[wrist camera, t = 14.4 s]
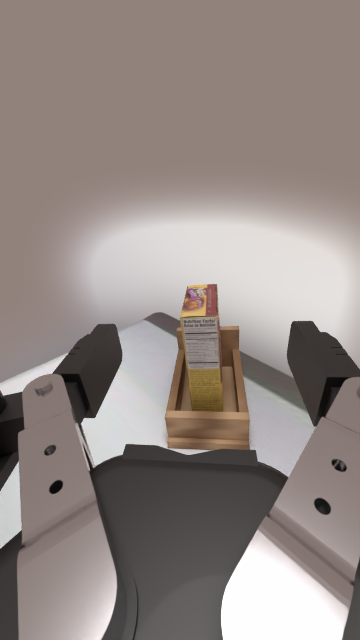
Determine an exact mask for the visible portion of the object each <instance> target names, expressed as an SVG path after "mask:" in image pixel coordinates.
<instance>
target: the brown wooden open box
mask: <svg viewBox="0 0 360 640" xmlns="http://www.w3.org/2000/svg"><path fill="white" fill-rule="evenodd" d="M177 340H178V348H179V350H178V355H177V360H176V365H175V370H174V375H173V380H172V385H171V390H170V395H169V400H168V405H167V410H166V414H165V421H166V427H167V432H168V440H167V443H168V448H183V449H205V450H218V449H240V450H249V446H250V444H249V421H250V419H249V413H248V406H247V400H246V393H245V386H244V380H243V373H242V366H241V360H240V353H239V326H229V327H220V342H221V360H222V382H223V412H206V411H192V405H191V398H190V391H189V383H188V375H187V367H186V360H185V352H184V344H183V336H182V329H181V328H177Z"/></svg>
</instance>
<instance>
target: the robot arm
mask: <svg viewBox="0 0 360 640" xmlns="http://www.w3.org/2000/svg"><path fill="white" fill-rule="evenodd" d="M287 359H288V364H289V367H290V369H291V372H292V374H293V377H294V379H295V381H296V384H297V386H298V389H299V391H300V394H301V396H302V399H303V401H304V403H305V406H306V408H307V411H308V413H309V416H310V418H311V421H312V423H313V425H314V426H316V428H315V430H314V432H313V434H312V436H311V438H310V439H309V441H308V443H307V445H306V447H305V449H304V450H303V452H302V454H301V456H300V458H299V460H298V461H297V463H296V465H295V467H294V469H293V471H292V472H291V474H290V476H289V478H288V477H287V476H286V475H284V474H283V473H281V472H280V471H278V470H276V469H275V468H273V467H271V466H268V465H266V464H264V463H261V462H258V461H257V455H256V450H240V449H218V450H213V451H208V452H203V453H198V454H193V455H185V454H182V453H178V452H175V451H172V450H169V449H166V448H163V447H159V446H155V445H134V444H126V446H125V449H124V452H123V455H120V456H116V457H113V458H111V459H108V460H106V461H104V462H102V463H101V464H99V465H97V466H96V467H95V465H94V462H93V459H92V456H91V453H90V449H89V446H88V443H87V440H86V437H85V434H84V431H83V428H82V425H81V423H82V421H83V419H84V418H95V417H96V415H97V413H98V411H99V408H100V406H101V404H102V402H103V400H104V398H105V396H106V394H107V392H108V390H109V387H110V385H111V383H112V381H113V379H114V377H115V375H116V373H117V371H118V369H119V366H120V364H121V362H122V349H121V344H120V340H119V336H118V332H117V328H116V325H115V324H98V325H97V326H96V327H95V329H94V330H93V331H92V332H91V334H87V335H86V336H85V337H83V338H82V339H80V340H79V341H78V342H77V343H76V344H75V346H74V347H73V349H71V351H70V352H69V353H68V355H67V356H66V357H65V358H64V359H63V361H62V362H61V363H60V364H59V366H58V367H57V368H56V369H55V371H54V372H53V373H52V374H48V375H44V376H41V377H38V378H36V379H35V380H33V381H31V382H30V383H29V384H28V385H27V386H26V387H25V388H24V390H23V392H19V393H14V394H10V395H5V396H3V395H2V393H1V391H0V491H1V489H2V487H3V486H4V484H5V482H6V481H7V479H8V477H9V476H10V474H11V473H12V471H13V469H14V468H15V466H16V464H17V463H18V461H19V473H20V497H21V521H22V530H21V531H20V532H19V533H18V534H17V535H16V536H14V537H13V538H12V539H11V540H10V541H9V542H8V543H6V544H5V545H4V546H3V547H2V548H1V549H0V640H360V369H359V368H358V367H357V365H356V364H355V363H354V361H353V360H352V359H351V358H350V356H348V354H347V352H346V351H345V350H344V349H343V347H342V346H341V344H340V343H339V342H338V340H337V339H336V338H334V337H332V336H331V335H329V334H328V333H326V332H320V331H319V330H318V328H317V327H316V325H315V324H314V322H313V321H293V322H292V324H291V330H290V336H289V343H288V350H287Z"/></svg>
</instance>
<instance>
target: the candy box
mask: <svg viewBox="0 0 360 640" xmlns="http://www.w3.org/2000/svg"><path fill="white" fill-rule="evenodd" d="M180 322H181V329H182V336H183V344H184V352H185V360H186V367H187V375H188V383H189V391H190V398H191V405H192V411H206V412H223V382H222V360H221V342H220V326H219V311H218V295H217V284H212V285H211V284H210V285H194V286H188V287H187V291H186V295H185V300H184V303H183V308H182V312H181V317H180Z"/></svg>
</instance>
